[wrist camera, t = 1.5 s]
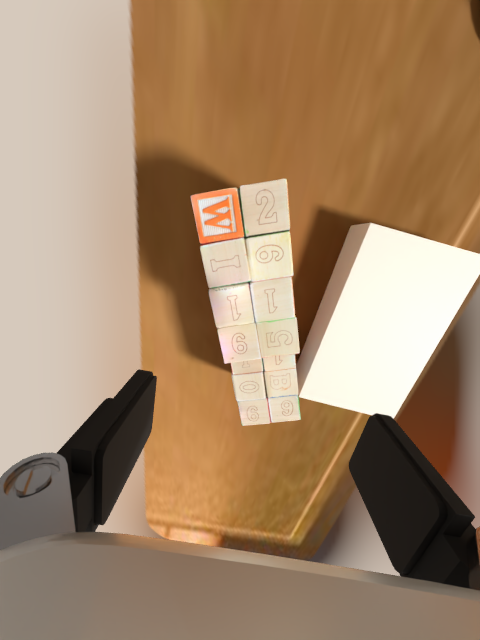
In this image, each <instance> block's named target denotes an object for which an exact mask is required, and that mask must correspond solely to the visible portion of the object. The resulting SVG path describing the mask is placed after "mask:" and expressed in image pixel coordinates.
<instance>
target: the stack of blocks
mask: <svg viewBox="0 0 480 640" xmlns="http://www.w3.org/2000/svg"><path fill="white" fill-rule="evenodd" d="M191 202H192V207H193V212H194V217H195V222H196V227H197V232H198V237H199V242H200V244H201V246H200V251H201V256H202V261H203V265H204V270H205V274H206V279H207V283H208V287H209V288H210V289H209V298H210V302H211V306H212V311H213V316H214V320H215V325H216V327H217V330H218V337H219V341H220V346H221V350H222V355H223V359H224V363H225V364H226V363H230V364H231V370H232V381H233V387H234V392H235V397H236V401H237V402H238V407H239V412H240V417H241V423H242V426H245V425H255V424H268V423H271V422H283V421H293V420H300V419H301V416H300V407H299V398H298V394H299V392H298V382H297V371H296V359H295V354H299V353H300V348H299V337H298V327H297V318H296V316H295V305H294V295H293V283H292V276H293V262H292V251H291V237H290V232H289V230H290V216H289V200H288V186H287V180H286V179H280V180H274V181H268V182H262V183H256V184H249V185H243V186H240V188H239V189H237V188H227V189H222V190H216V191H210V192H205V193H200V194H195V195H191Z"/></svg>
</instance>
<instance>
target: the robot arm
mask: <svg viewBox="0 0 480 640" xmlns="http://www.w3.org/2000/svg"><path fill="white" fill-rule="evenodd" d="M156 381H157V377H156V376H153V373H152V372H150V371H144V370H137V371H136V373H135V374H134V375H133V376H132V377H131V379H130V380H129V381H128V382H127V383H126V384H125V385H124V387H123V388H122V389H121V390H120V391H119V392H118V394H117V395H116V396H115V397H114V398H108V399H106V400H105V401H103V403H102V404H101V405H100V406H99V407H98V408H97V409H96V410H95V411H94V412H93V414H92V415H91V416H90V417H89V418H88V419H87V420H86V421H85V422H84V423H83V425H82V426H81V427H80V428H79V429H78V430H77V431H76V432H75V434H74V435H73V436H72V437H71V438H70V439H69V440H68V441H67V442H66V443H65V445H64V446H63V447H62V448H61V449H60V450H59V451H58V452H57V453H41V454H37V455H33V456H30V457H28V458H26V459H23V460H21V461H20V462H18V463H16V464H15V465H13V466H12V467H11V468H10V469H8V470H7V471H6V472H5V473H4V474H3V475H2V476H1V478H0V640H480V526H479V527H478V528H476V529H475V528H474V527H473V526H472V524H471V522H472V521H473V519H474V518H475V516H474V515H473V514H472V513H471V511H470V510H469V509H468V508H467V506H466V505H465V504H464V503H463V502H462V500H461V499H460V498H459V497H458V496H457V494H456V493H455V492H454V491H453V490H452V488H451V487H450V486H449V485H448V484H447V482H446V481H445V480H444V479H443V478H442V476H441V475H440V474H439V473H438V472H437V470H436V469H435V468H434V467H433V466H432V465H431V463H430V462H429V461H428V460H427V458H426V457H425V456H424V455H423V454H422V453H421V452H420V450H419V449H418V448H417V447H416V445H415V444H414V443H413V442H412V441H411V439H410V438H409V437H408V436H407V435H406V433H404V431H403V430H402V429H401V427H400V426H399V425H398V424H397V423H396V421H395V420H394V419H393V418H392V417H391V416H389V415H384V414H378V413H375V414H374V415H373V416H370V417H369V419H368V421H367V423H366V426H365V428H364V430H363V432H362V434H361V437H360V439H359V441H358V443H357V446H356V448H355V450H354V452H353V455H352V457H351V459H350V462H349V469H350V472H351V474H352V477H353V479H354V481H355V483H356V486H357V488H358V490H359V492H360V494H361V496H362V499H363V501H364V503H365V505H366V508H367V510H368V512H369V514H370V516H371V518H372V521H373V523H374V525H375V527H376V529H377V532H378V534H379V536H380V538H381V541H382V543H383V545H384V547H385V550H386V552H387V554H388V556H389V558H390V560H391V563H392V565H393V567H394V568H395V570H396V571H397V572H399V573H400V576H395V575H389V574H383V573H376V572H371V571H364V570H359V569H353V568H347V567H340V566H334V565H328V564H322V563H315V562H309V561H303V560H297V559H290V558H284V557H278V556H272V555H265V554H259V553H252V552H246V551H239V550H233V549H226V548H220V547H213V546H207V545H200V544H194V543H187V542H181V541H174V540H166V539H158V538H151V537H142V536H135V535H128V534H117V533H104V532H95V530H96V529H97V527H98V525H104V524H105V522H106V520H107V519H108V517H109V515H110V513H111V511H112V509H113V507H114V505H115V503H116V501H117V499H118V497H119V495H120V493H121V491H122V489H123V487H124V485H125V483H126V481H127V479H128V477H129V475H130V473H131V471H132V469H133V467H134V465H135V463H136V461H137V459H138V457H139V455H140V453H141V451H142V449H143V447H144V445H145V443H146V441H147V439H148V437H149V435H150V433H151V429H152V422H153V412H154V401H155V391H156Z"/></svg>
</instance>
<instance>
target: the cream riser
mask: <svg viewBox="0 0 480 640" xmlns="http://www.w3.org/2000/svg"><path fill="white" fill-rule="evenodd" d="M479 274H480V254H477V253H474V252H470V251H467V250H463V249H460V248H456V247H453V246H449V245H446V244H442V243H439V242H436V241H432V240H429V239H425V238H422V237H418V236H415V235H411V234H408V233H404V232H401V231H398V230H394V229H391V228H387V227H384V226H380V225H377V224H373V223H366V224H358V225H351V227H350V229H349V232H348V234H347V237H346V239H345V242H344V244H343V247H342V250H341V252H340V255H339V257H338V260H337V262H336V265H335V268H334V270H333V273H332V275H331V278H330V280H329V283H328V286H327V288H326V291H325V293H324V296H323V298H322V301H321V304H320V306H319V309H318V311H317V314H316V316H315V319H314V321H313V324H312V327H311V329H310V332H309V334H308V337H307V339H306V342H305V345H304V347H303V350H302V352H301V355H300V357H299V360H298V363H297V365H296V371H297V382H298V392H299V394H298V396H299V397H301V398H305V399H309V400H313V401H317V402H321V403H325V404H329V405H333V406H337V407H341V408H345V409H349V410H353V411H357V412H361V413H365V414H369V415H374V414H375V413H378V414H384V415H389V416H391V417H392V418H393V419H394V417H395V415H396V413H397V412H398V410H399V408H400V407H401V405H402V403H403V402H404V400H405V398H406V397H407V395H408V393H409V392H410V390H411V388H412V387H413V385H414V383H415V382H416V380H417V378H418V377H419V375H420V373H421V371H422V370H423V368H424V366H425V365H426V363H427V361H428V360H429V358H430V356H431V355H432V353H433V351H434V350H435V348H436V346H437V345H438V343H439V341H440V340H441V338H442V336H443V334H444V333H445V331H446V329H447V328H448V326H449V324H450V323H451V321H452V319H453V318H454V316H455V314H456V313H457V311H458V309H459V308H460V306H461V304H462V303H463V301H464V299H465V297H466V296H467V294H468V292H469V291H470V289H471V287H472V286H473V284H474V282H475V281H476V279H477V277H478V276H479Z"/></svg>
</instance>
